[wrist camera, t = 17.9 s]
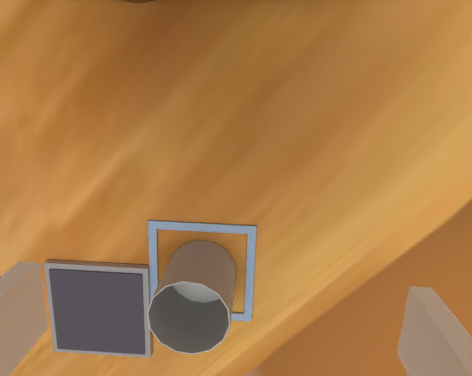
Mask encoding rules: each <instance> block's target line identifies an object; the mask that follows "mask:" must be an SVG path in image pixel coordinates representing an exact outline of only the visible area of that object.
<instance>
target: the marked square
mask: <svg viewBox="0 0 472 376" xmlns="http://www.w3.org/2000/svg"><path fill="white" fill-rule="evenodd" d="M157 229H163V230H182V231H201V232H220V233H239V234H248V241H247V262H246V284H245V305H244V313H239V312H232V315H231V320H236V321H252V305H253V286H254V267H255V248H256V229H257V226H254V225H235V224H215V223H196V222H177V221H158V220H148V238H149V271H150V302H151V300H152V297H153V295H154V293H155V291H156V289H157V286H158V247H157Z"/></svg>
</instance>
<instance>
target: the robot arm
mask: <svg viewBox="0 0 472 376" xmlns="http://www.w3.org/2000/svg"><path fill="white" fill-rule="evenodd" d="M123 1H128V2H149V1H154V0H123ZM47 328H48V326H47V317H46V308H45V300H44V291H43V283H42V274H41V266H40V263H32V262H18V263H17V264H16V265H15V266H13V267H12V268H11V269H10V270H9V271H7V272H6V273H5V274H4V275H2V276H1V277H0V376H9V375H10V374H11V373H12V371H13V370H14V369H15V368H16V367H17V365H18V364H19V363H20V362H21V360H22V359H23V358H24V357H25V355H26V354H27V353H28V352H29V351H30V349H31V348H32V347H33V346H34V344H35V343H36V342H37V341H38V340H39V338H40V337H41V336H42V335H43V333H44V332H45V331H46V330H47ZM397 354H398V356H399V358H400V360H401V362H402V364H403V366H404V368H405V370H406V372H407V374H408V376H472V337H471V336H470V335H469V333H468V332H467V331H466V330H465V328H464V327H463V326H462V325H461V323H460V322H459V321H458V320H457V318H456V317H455V316H454V315H453V314H452V312H451V311H450V310H449V308H448V307H447V306H446V305H445V303H444V302H443V301H442V300H441V298H440V297H439V296H438V295H437V293H436V292H435V291H434V290H433V288H425V287H410V288H409V293H408V298H407V303H406V308H405V314H404V319H403V324H402V329H401V334H400V339H399V345H398V350H397Z"/></svg>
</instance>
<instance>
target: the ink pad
mask: <svg viewBox="0 0 472 376" xmlns="http://www.w3.org/2000/svg"><path fill="white" fill-rule="evenodd" d="M44 268H45V277H46V286H47V295H48V304H49V312H50V321H51V330H52V339H53V348H54V352H69V353H84V354H99V355H114V356H129V357H144V358H151V356H152V353H153V348H152V331H151V330H150V328H149V322H148V317H147V311H148V308H149V305H150V271H149V265H140V264H122V263H104V262H87V261H69V260H51V259H48V260H47V261H46V262H44Z"/></svg>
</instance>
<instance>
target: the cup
mask: <svg viewBox="0 0 472 376" xmlns="http://www.w3.org/2000/svg"><path fill="white" fill-rule="evenodd" d="M235 279H236V273H235V263H234V261H233V259H232V258H231V256H230V255H229V253H228V251H227V250H226V249H224V248H223V247H221V246H219V245H218V244H216V243H215V242H211V241H205V240H195V241H192V242H188V243H184V244H183V245H182V246H181V247H180V248H178V249H177V250H176V251H175V252H174V253H173V255H172V257H171V259H170V261H169V263H168V265H167V268H166V270H165V272H164V274H163V276H162V278H161V280H160V282H159V284H158V286H157V289H156V291H155V293H154V295H153V297H152V300H151V302H150V305H149V308H148V311H147V317H148V322H149V328H150V330H151V331H152V333H153V334H154V336H155V337H156V338H157V340H158V341H159V342H160V343H161V344H163V345H165V346H166V347H168V348H170V349H171V350H173V351H175V352H179V353H186V354H193V355H194V354H198V353H202V352H207V351H211V350H212V349H213V348H215V347H216V346H217V345H218V344H220V343H221V342H222V341H223V340H224V339H225V336H226V334H227V332H228V330H229V327H230V324H231V315H232V306H233V297H234V288H235Z"/></svg>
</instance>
